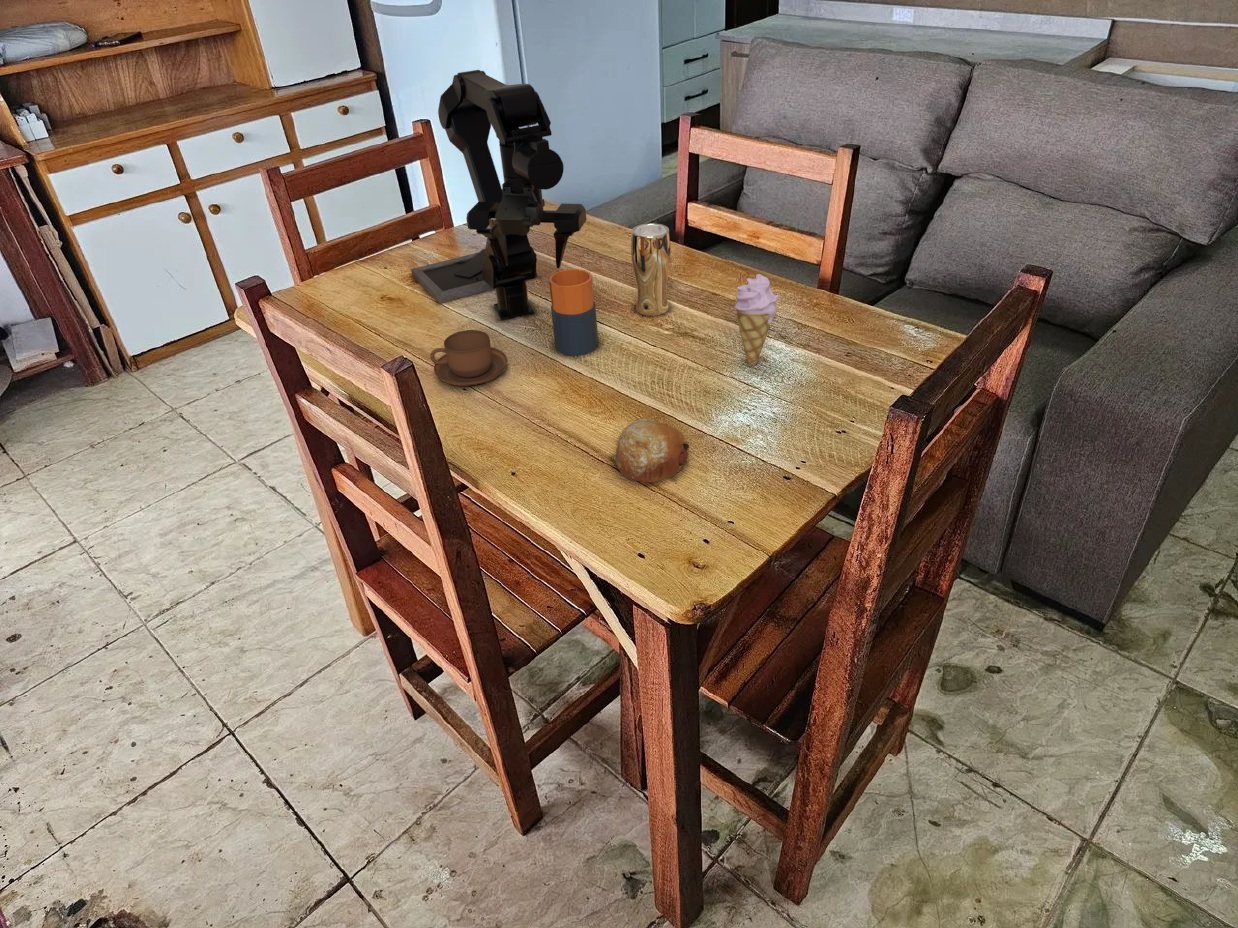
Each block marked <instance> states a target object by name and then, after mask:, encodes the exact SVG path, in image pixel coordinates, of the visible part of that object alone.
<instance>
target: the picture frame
mask: <svg viewBox="0 0 1238 928" xmlns="http://www.w3.org/2000/svg"><path fill="white" fill-rule="evenodd" d="M485 259H486V253H485V248H482V249H481V250H480V251H477V252H474V253H469V254H466V255H462V256H458V257H453V258H450V259H446V260H442V261H439V262H438V261H437V262H434V263H430V264H426V265H421V266H418V267H414V268H411V269H410V271H411V276H412V277H413V278H414V279H415V280H416V281H417V283H418V284H419V285H420V286H421V287H422V288H423V289H424V290H425V291H426V292H427V293H428V294H429V295H430V296H431V297H432V298H433V299H434V300H435V301H436V303H437V304H444V303H447V302H451V301H455V300H459V299H462V298H465V297H469V296H470V297H471V296H473V295H477V294H481V293H484V292H489V291H491V290H493V289H492V288H491V287H490V286H489V285H488V284H487V283H486V282H485V281H484V277H483V273H482V267H483V264H484V261H485ZM536 278H538V272H537V269H536Z"/></svg>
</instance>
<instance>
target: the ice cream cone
mask: <svg viewBox="0 0 1238 928" xmlns="http://www.w3.org/2000/svg"><path fill="white" fill-rule="evenodd" d="M746 282H747V284H743V285H739V286H737V288H736V290H737V295H736V296H735V300H736V301H735V305H734V306H735V310H736V311H735V312H736V317H737V324H738V329H739V333H740V337H741V343H742V346H743V349H744V350H743V351H744V354H745V358H746V361H747V364H748V365H749V366H756V365H757V363H758V360H759V357H760V355H761V352H762V349H763V347H764V344H765V342H766V339H767V337H768V333H769V329H770V327H771V325H772V324H773V322H774V318H775V316H776V314H777V304H776V302H777V301H778V299H780V298H781V297H782V295H781V294H774V291H773V290H772V288H771V280H769V278H768V277H767V276H764V275H762V274H761V273H757V274H756V276H755V278H751V277H748V278H746Z"/></svg>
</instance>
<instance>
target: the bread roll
mask: <svg viewBox="0 0 1238 928" xmlns="http://www.w3.org/2000/svg"><path fill="white" fill-rule="evenodd" d="M689 448H690V445H689V443H688V441H687V438H686V437H685V435H684V434H683V431H682V430H679V429H677V428H675V427H673V426H671V425H669V424H667V423H664V422H658V421H655V420H651V419H648V418H644V417H643V418H638V419H636V420H633V421H632V422H630V424H627V426H626V427H625V428H624V429H623V430H622V431H621V433H620V434H619V435H618V436H617V441H616V449H615V454H614V457H613V460H614V462H615V465H616V468H617V469H618V471H619V472H620V474H621V475H623V476H624V477H625V478H627V479H628V480H631V481H635V482H641V483H656V482H659V481H663V480H666V479H667V480H668V479H669V478H672V477H674V476H675V475H677V474H678V473H679V472H680V471H682V469H683V468H684V467H685V465H686V463H687V459H688V450H689Z"/></svg>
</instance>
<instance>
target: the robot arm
mask: <svg viewBox="0 0 1238 928" xmlns="http://www.w3.org/2000/svg"><path fill="white" fill-rule="evenodd" d="M437 114H438V120H439V124H440V126H441V128H442V129H443V130H444V131H445V133H446V136H447V138H448V141H449V142H450V144H451V145H453V146H454V147H455V148H456V149H457V150H459V152H461V153H462V154H463V155H462V156H463V158H464V161H465V164H466V167H467V170H468V173H469V177H470V179H471V183H472V185H473V190H474V192H475V195H476V199H477V202H476V204H474V206H473V207H471V209H469V211H468V212H467V213H466V219H465V220H466V226H467V229H469V230H472V231H475V232H476V234H477V235H482V236H483V237H485V238H486V242H485V247H484V249H485V253H486V259H485V261H484V264H483V267H482V273H483V277H484V281H485V282H486V283H487V284H488V285H489V286H490V287H491V288H492V290H495V296H496V301H497V303H493V308H494V310H495V312H496V314H497V316H498V318H499V320H501V321H502V320H509V319H513V318H515V319H516V318H519V317H524V316H529V315H534V314H535V310H534V308H533V307H532V305H531V303H530V301H529V296H528V288H527V281H528V280H534V279H537V277H536V270H537V261H538V258H537V253H536V252H535V250H534V248H533V246H531V243H530V241H529V237H528V234H529V233H530V231H531V228H533V227H534V226H540V225H541V224H553V227H554V228H555V229H556V230H555V231H554V232H553V235H552V236H553V237H554V242H555V247H554V248H555V266H556V269H557V270H558V269H560V268H561V266H562V263H563V259H564V255H565V251H566V248H567V244H568V240H569V238H570V237H572V236H573V235H574V234H575V233H578V232H580V230H582V227H583V226H584V225H585V223H586V221H587V210H586V207H585V206H584V205H583V204H582V203H561V204H560V205H559V206H558V208H556V210H554V209H553V210H550V209H547V210H545V209H544V207H545V205H546V204H545V203H546V202H545V199H544V198H543V191H542V190H545V191H546V190H550V189H552V188H554V187H556V186H557V185H558V184H559V182H560V181H561V179H562V178H563V174H564V168H565V165H564V162H563V160H562V158H561V156H560V154H559V153H557V152H556V151H555V150H553V149H551V148H550V142H549V140H548V139H546V138H545V137H550V136H552V129H551V123H552V122H551V120H550V117H549V116H548V112H547V110H546V108H545V106H544V104H543V101H542V99H541V98H540V94H539V93H538V92H537V91H536V90H535V88H534V87H533V86H532V85H531V84H530V83H517V84H506V83H503V82H501V81H500V80H498V79H495V78H494V77H492V76H489V75H488V74H486V72H485V70H480V69H474V70H473V69H472V70H466V71H461V72H457V73H456V74H454V75H453V77H452V83H451V84H450V85H449V86H448V88H447V89H445V91H443V93H442V94H441V95H440V98H439V103H438V111H437ZM491 128H492V129H493V131H494V133H495V136H496V138H497V140H498V143H499V145H498V146H499V152H500V160H501V168H502V176H503V183H502V184H501V181H500V179H499V175H498V172H497V169H496V166H495V163H494V159H493V156H492V153H491V151H490V147H489V143H488V141H489V136H490V131H491Z"/></svg>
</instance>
